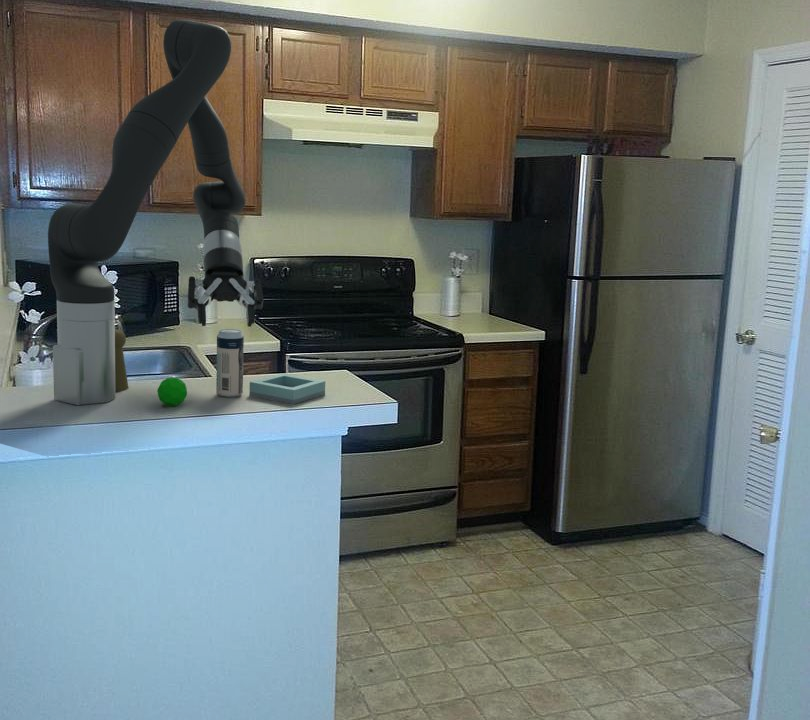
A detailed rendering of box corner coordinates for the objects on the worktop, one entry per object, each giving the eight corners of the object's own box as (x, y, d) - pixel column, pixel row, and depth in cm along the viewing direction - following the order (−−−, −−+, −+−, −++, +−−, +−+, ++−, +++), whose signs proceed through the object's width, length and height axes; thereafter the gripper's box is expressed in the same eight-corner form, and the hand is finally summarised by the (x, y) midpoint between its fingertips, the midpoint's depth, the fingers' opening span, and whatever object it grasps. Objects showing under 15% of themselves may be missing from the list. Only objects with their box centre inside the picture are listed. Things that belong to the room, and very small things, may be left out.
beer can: (247, 396, 152) (248, 332, 150) (223, 399, 150) (223, 333, 147) (235, 391, 156) (236, 328, 154) (212, 393, 153) (212, 329, 151)
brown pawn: (134, 385, 156) (133, 328, 154) (120, 393, 150) (119, 333, 148) (103, 383, 156) (102, 325, 154) (87, 390, 150) (86, 330, 148)
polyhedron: (152, 407, 141) (152, 380, 141) (164, 400, 146) (164, 374, 145) (181, 409, 141) (181, 382, 140) (191, 403, 146) (191, 376, 145)
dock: (293, 404, 149) (294, 390, 148) (249, 395, 153) (249, 381, 153) (324, 394, 157) (325, 381, 157) (282, 386, 162) (282, 373, 161)
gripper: (186, 244, 161) (188, 311, 152) (260, 247, 165) (267, 312, 156) (185, 269, 167) (187, 335, 158) (257, 271, 171) (263, 335, 162)
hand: (227, 323), depth 157 cm, fingers open, 8 cm apart
